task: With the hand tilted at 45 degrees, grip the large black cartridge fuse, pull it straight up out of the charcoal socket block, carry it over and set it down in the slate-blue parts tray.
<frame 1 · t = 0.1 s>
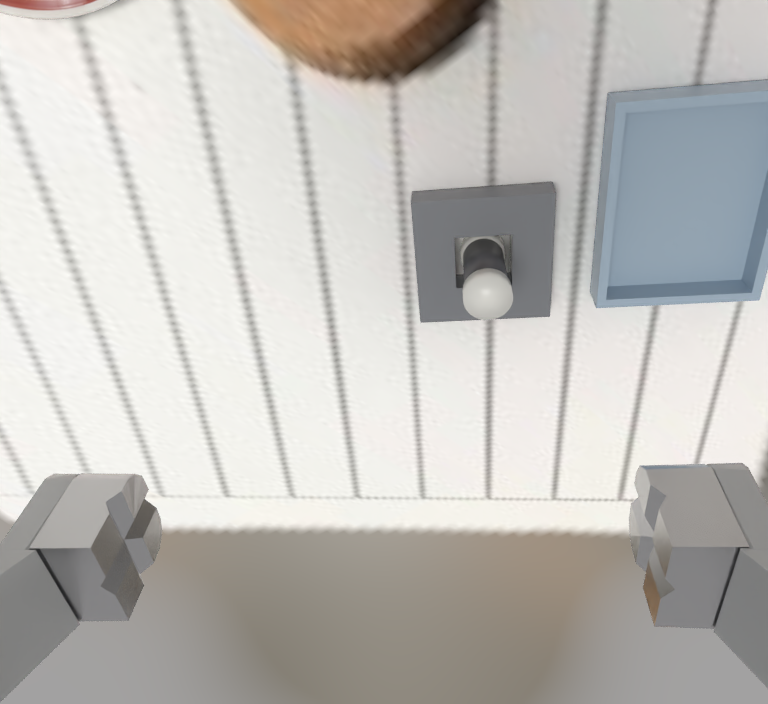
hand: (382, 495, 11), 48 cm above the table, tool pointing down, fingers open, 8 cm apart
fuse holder: (482, 249, 61), on the table
fuse: (484, 272, 57), in the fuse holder
parts tray: (682, 195, 56), on the table
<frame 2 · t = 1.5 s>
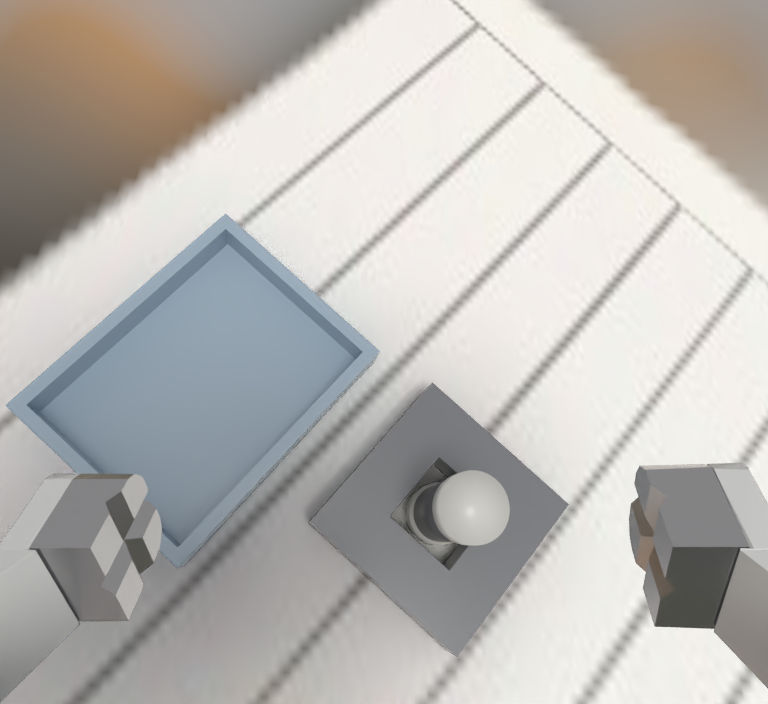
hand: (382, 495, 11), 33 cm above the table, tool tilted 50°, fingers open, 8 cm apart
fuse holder: (434, 514, 44), on the table
fuse: (452, 511, 40), in the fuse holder
parts tray: (207, 387, 44), on the table
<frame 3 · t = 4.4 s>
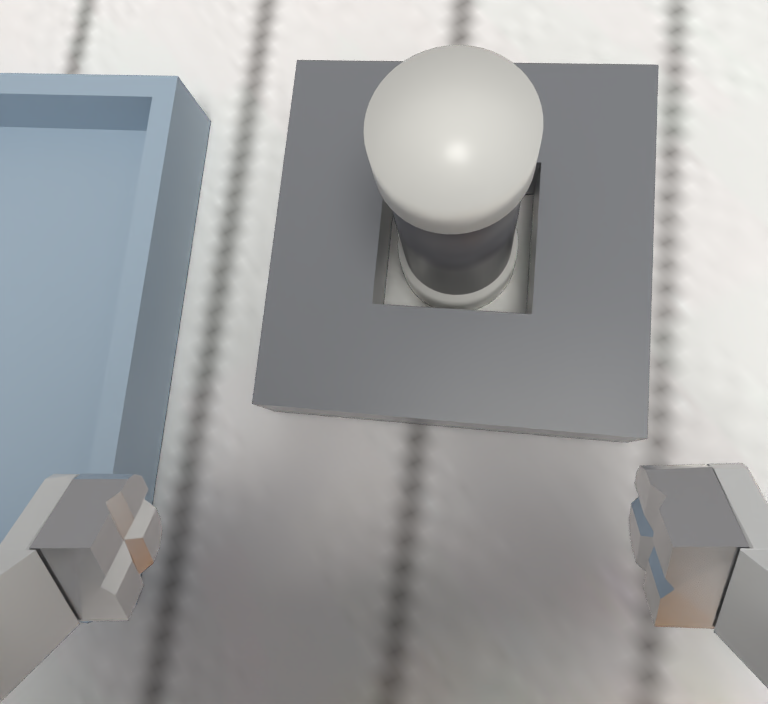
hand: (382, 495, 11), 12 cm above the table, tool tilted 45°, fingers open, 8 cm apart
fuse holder: (458, 257, 24), on the table
fuse: (455, 206, 19), in the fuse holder
parts tray: (2, 334, 25), on the table
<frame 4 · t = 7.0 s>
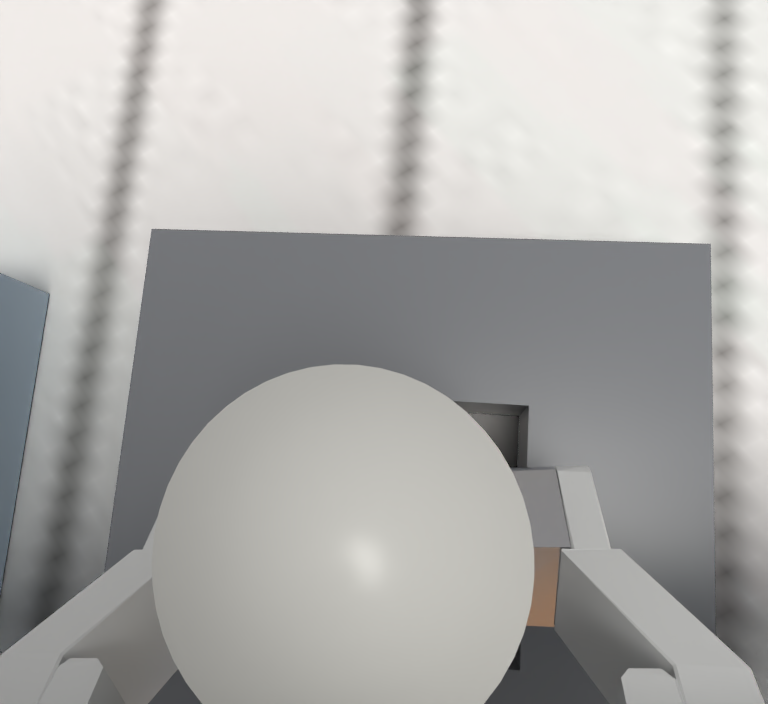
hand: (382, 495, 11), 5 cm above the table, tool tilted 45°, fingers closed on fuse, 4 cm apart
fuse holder: (407, 515, 16), on the table
fuse: (385, 527, 11), in the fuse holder, touching gripper
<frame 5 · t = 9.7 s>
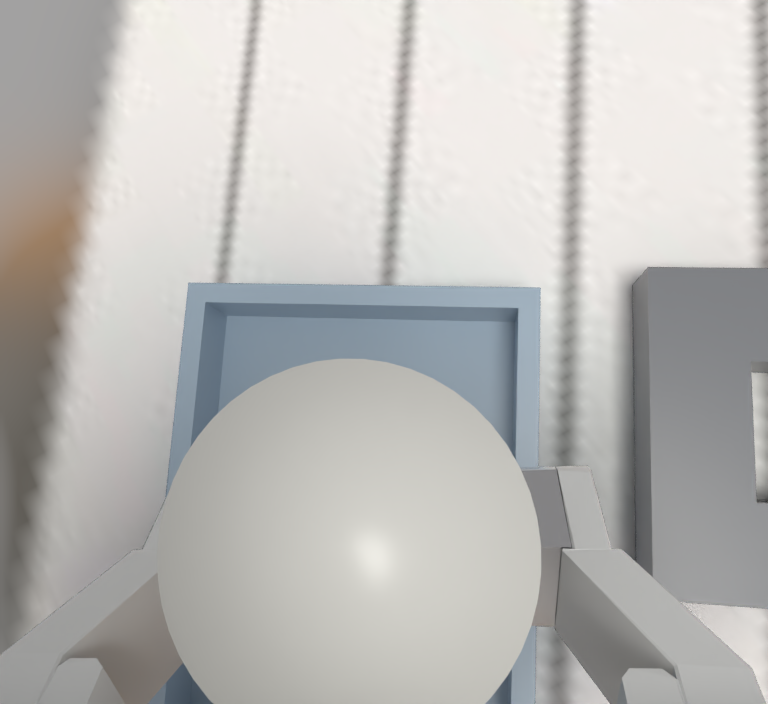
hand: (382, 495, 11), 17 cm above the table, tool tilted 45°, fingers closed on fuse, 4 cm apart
fuse: (387, 523, 11), point 16 cm above the table, touching gripper
parts tray: (357, 515, 27), on the table
when the fingers open (7 cm above the table, at t = 12.4 s): fuse drops 2 cm, resting on parts tray.
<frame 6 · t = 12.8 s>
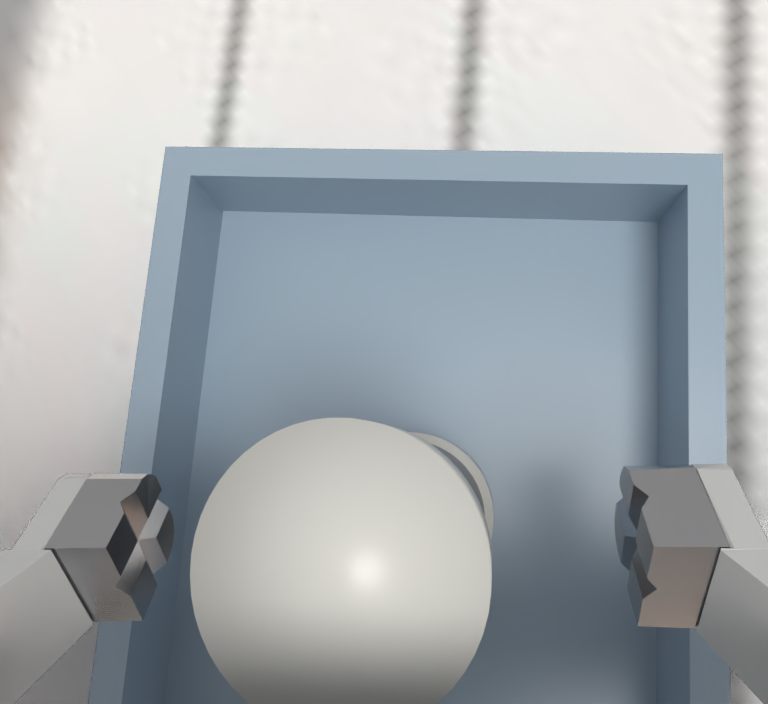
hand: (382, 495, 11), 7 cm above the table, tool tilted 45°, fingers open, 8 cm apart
fuse: (389, 530, 13), in the parts tray, point 5 cm above the table
parts tray: (414, 509, 18), on the table
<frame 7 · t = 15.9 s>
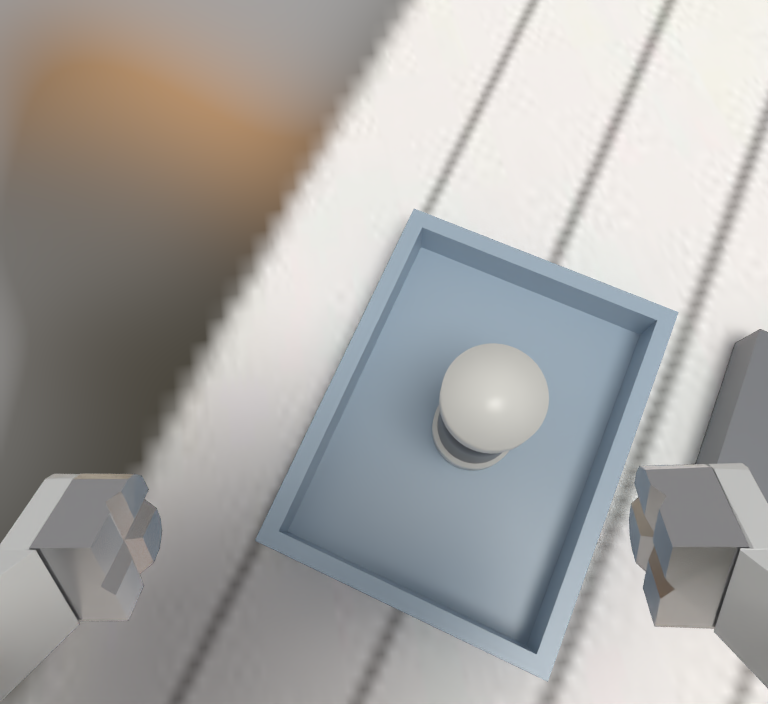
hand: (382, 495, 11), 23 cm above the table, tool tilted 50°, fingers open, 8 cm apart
fuse: (481, 415, 29), in the parts tray, point 5 cm above the table
parts tray: (468, 431, 34), on the table
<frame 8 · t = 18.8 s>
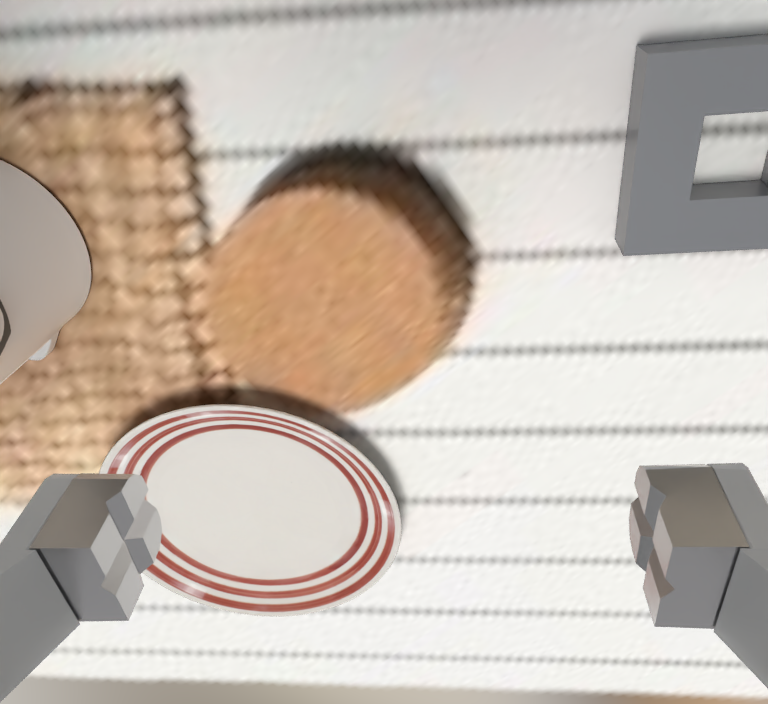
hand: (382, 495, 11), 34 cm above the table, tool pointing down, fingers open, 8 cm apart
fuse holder: (726, 143, 40), on the table
dinner plate: (257, 498, 62), on the table
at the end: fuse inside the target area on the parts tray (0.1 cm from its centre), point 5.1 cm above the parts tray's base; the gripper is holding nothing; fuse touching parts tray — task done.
